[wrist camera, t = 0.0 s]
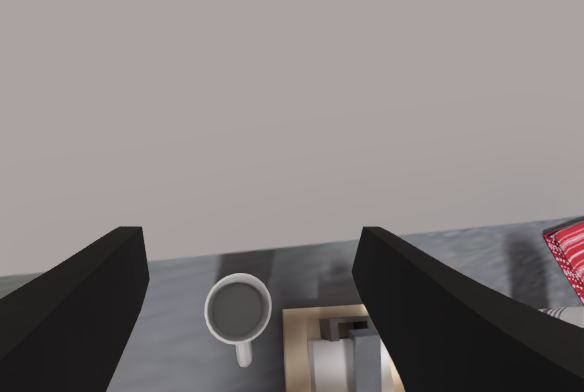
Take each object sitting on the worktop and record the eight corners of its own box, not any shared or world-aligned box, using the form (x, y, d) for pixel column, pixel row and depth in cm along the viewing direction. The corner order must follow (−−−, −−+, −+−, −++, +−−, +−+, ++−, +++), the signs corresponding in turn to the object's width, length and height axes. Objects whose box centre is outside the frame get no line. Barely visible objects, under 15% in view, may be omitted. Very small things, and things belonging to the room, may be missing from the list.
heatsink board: (414, 473, 34) (447, 502, 29) (289, 499, 31) (301, 536, 26) (384, 302, 42) (405, 301, 37) (281, 309, 39) (289, 308, 33)
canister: (555, 313, 47) (650, 313, 36) (564, 369, 43) (674, 387, 33) (504, 298, 46) (586, 293, 36) (509, 353, 43) (603, 367, 32)
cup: (259, 277, 40) (265, 267, 32) (271, 353, 36) (282, 364, 28) (208, 287, 38) (201, 279, 30) (215, 368, 34) (210, 384, 26)
